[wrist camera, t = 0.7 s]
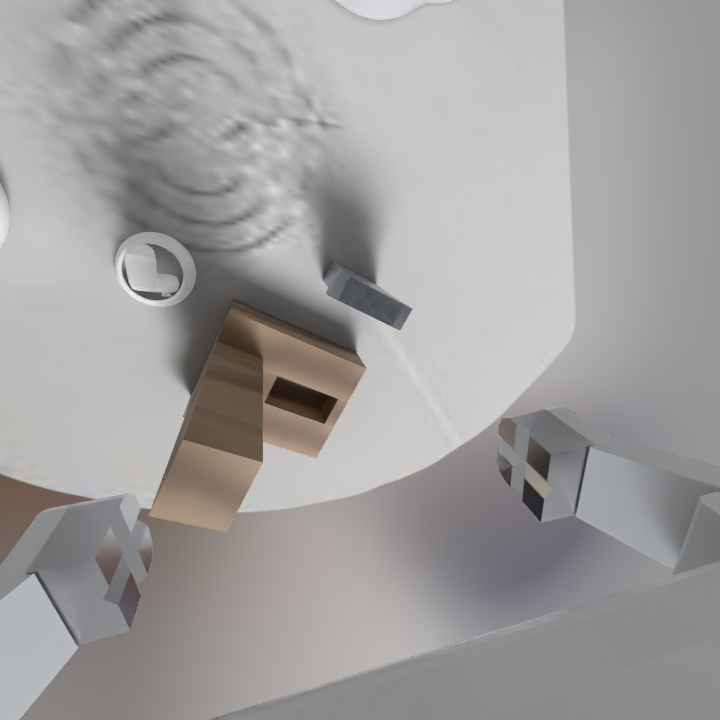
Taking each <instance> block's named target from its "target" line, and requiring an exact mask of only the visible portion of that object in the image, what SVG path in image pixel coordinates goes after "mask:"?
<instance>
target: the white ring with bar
mask: <svg viewBox="0 0 720 720" xmlns="http://www.w3.org/2000/svg"><path fill="white" fill-rule="evenodd" d="M145 244H154V245H158V246H161V247H164V248H165V249H167V250H169V251H170V252H171V253H172V254H174V256H175V257H176V258H177V259H178V261H179V262H180V264H181V267H182V270H183V282H182V286H181V287H180V289H179V291H178V288H179V281H178V278H177V277H176V276H174V275H170V274H159V273H157V263H156V255H155V252H154V250H153V249H152V248H151V247H150V246H148V245H145ZM124 257H125V264H126V270H127V275H128V281H129V284H130V286H131V288H132V289H133V290H137V291H147V292H162V294H161V296H164V297H170V296H171V294H170V293H171V292H176V291H178V292H177V293H176V294H175V295H173V296H172V297H170V298H168V299H164V300H150V299H147V298H144V297H142V296H140V295H139V294H137V293H136V292H135V291H133V290H132V289H131V288H130V287H129V285H128V284H127V282H126V281H125V278H124V276H123V272H122V261H123V258H124ZM115 270H116V275H117V278H118V280H119V282H120V284H121V285H122V287H123V288H124V289H125V290H126V291H127V292H128V294H129V295H131V296H132V297H134V298H135V299H136V300H138V301H140V302H142V303H145V304H148V305H152V306H158V307H162V306H171V305H174V304H177V303H179V302H181V301H182V300H184V299H185V298H186V297H187V296H188V295H189V294H190V293H191V291H192V290H193V288H194V285H195V282H196V267H195V264H194V261H193V259H192V257H191V255H190V253H189V252H188V251H187V249H186V248H185V247H184V246H183V245H182V244H181V243H179V242H178V241H177V240H175V239H173V238H172V237H170V236H167V235H165V234H162V233H157V232H142V233H138V234H135V235H133V236H131V237H129V238H128V239H126V240H125V241H124V242H123V243H122V244H121V246H120V247H119V249H118V251H117V254H116V258H115Z"/></svg>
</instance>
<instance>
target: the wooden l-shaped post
mask: <svg viewBox="0 0 720 720" xmlns="http://www.w3.org/2000/svg"><path fill="white" fill-rule="evenodd" d="M365 370H366V367H365V366H364V364H363V363H362V361H361V359H360V358H359V356H358V354H357V353H355V352H353V351H351V350H349V349H346V348H344V347H342V346H339V345H337V344H335V343H333V342H330V341H328V340H326V339H323V338H321V337H319V336H317V335H314V334H312V333H310V332H308V331H305V330H303V329H301V328H298V327H296V326H294V325H292V324H289V323H287V322H285V321H283V320H280V319H278V318H276V317H273V316H271V315H269V314H267V313H264V312H262V311H260V310H258V309H255V308H253V307H251V306H248V305H246V304H244V303H242V302H239V301H237V300H235V299H233V301H232V304H231V306H230V308H229V310H228V313H227V315H226V317H225V319H224V322H223V324H222V326H221V329H220V331H219V333H218V335H217V338H216V340H215V342H214V344H213V347H212V349H211V351H210V353H209V356H208V358H207V360H206V362H205V365H204V367H203V369H202V372H201V374H200V376H199V378H198V381H197V383H196V385H195V387H194V390H193V392H192V394H191V397H190V399H189V402H188V405H187V407H186V410H185V413H184V415H183V417H184V421H183V424H182V426H181V429H180V432H179V435H178V437H177V440H176V443H175V445H174V448H173V451H172V454H171V456H170V459H169V462H168V465H167V467H166V470H165V473H164V476H163V478H162V481H161V484H160V486H159V489H158V492H157V495H156V497H155V500H154V503H153V506H152V508H151V511H150V514H149V516H151V517H156V518H161V519H166V520H171V521H175V522H180V523H185V524H190V525H195V526H200V527H204V528H209V529H214V530H218V531H223V532H227V530H228V528H229V526H230V524H231V522H232V521H233V519H234V517H235V514H236V513H237V511H238V509H239V507H240V505H241V503H242V501H243V499H244V497H245V496H246V494H247V492H248V490H249V488H250V486H251V484H252V482H253V480H254V478H255V476H256V474H257V472H258V471H259V469H260V467H261V465H262V463H263V442H265V443H268V444H272V445H275V446H278V447H281V448H285V449H288V450H291V451H294V452H298V453H301V454H304V455H307V456H311V457H314V458H316V457H317V456H318V454H319V452H320V450H321V449H322V447H323V445H324V443H325V441H326V440H327V438H328V436H329V434H330V432H331V431H332V429H333V427H334V425H335V424H336V422H337V420H338V418H339V416H340V415H341V413H342V411H343V409H344V407H345V406H346V404H347V402H348V400H349V398H350V397H351V395H352V393H353V391H354V390H355V388H356V386H357V384H358V382H359V381H360V379H361V377H362V375H363V373H364V372H365Z"/></svg>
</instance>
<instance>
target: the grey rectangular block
mask: <svg viewBox="0 0 720 720" xmlns="http://www.w3.org/2000/svg"><path fill="white" fill-rule="evenodd" d="M323 281H324V282H325V284H326V285H327V286H328V290H327V292H326V293H327V294H328V296H331V297H333V298H335V299H337V300H339V301H341V302H343V303H345V304H347V305H349V306H351V307H353V308H355V309H357V310H359V311H361V312H363V313H365V314H367V315H369V316H371V317H374V318H376V319H378V320H380V321H382V322H384V323H386V324H388V325H390V326H392V327H394V328H396V329H398V330H401V328H402V326H403V324H404V323H405V321H406V319H407V317H408V316H409V314H410V312H411V310H412V308H410V307H409V306H407V305H405V304H403V303H402V302H400V301H398V300H397V299H396V298H394V297H393V296H392V295H390V294H389V293H387V292H386V291H385V290H383V289H382V288H381V287H379V286H378V285H377V284H375V283H373V282H371V281H369V280H367V279H365V278H363V277H361V276H360V275H358V274H356V273H354V272H352V271H350V270H348V269H346V268H344V267H342V266H341V265H339V264H337V263H335V262H333V261H332V262H331V264H330V266H329V268H328V270H327V272H326V274H325V276H324V278H323Z"/></svg>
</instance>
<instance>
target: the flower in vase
mask: <svg viewBox="0 0 720 720" xmlns="http://www.w3.org/2000/svg"><path fill="white" fill-rule="evenodd" d="M10 216H11V215H10V207H9V203H8V199H7V196H6V193H5V191H4V188H3V186H2V185H1V183H0V247H1V246H2V244H3V243H4V241H5V240H6V237H7V235H8V232H9V227H10Z"/></svg>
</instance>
